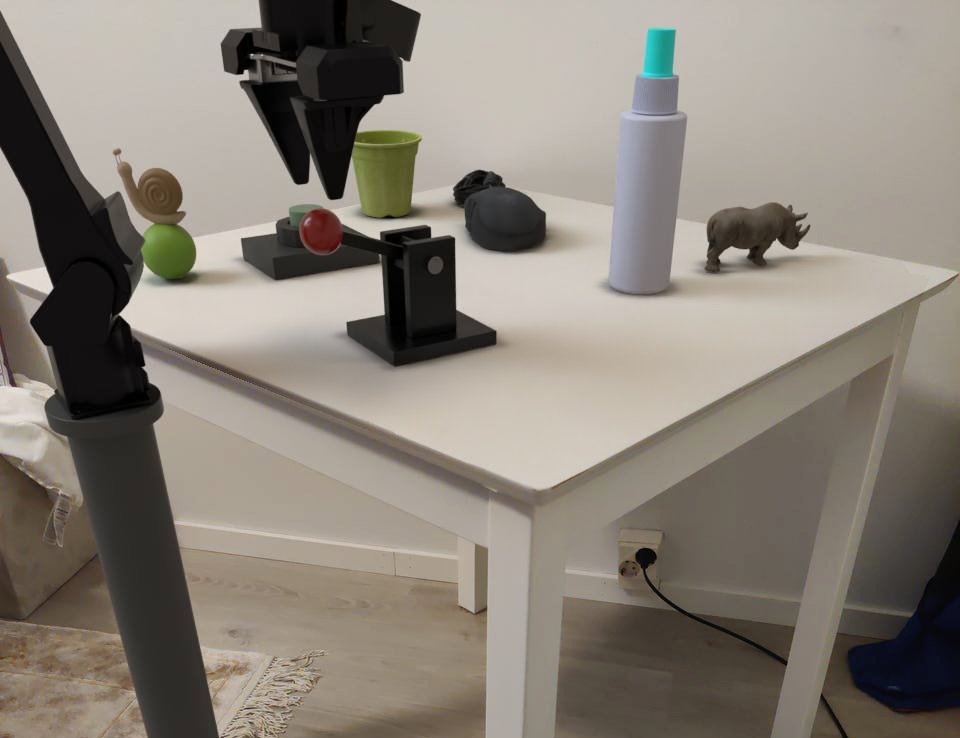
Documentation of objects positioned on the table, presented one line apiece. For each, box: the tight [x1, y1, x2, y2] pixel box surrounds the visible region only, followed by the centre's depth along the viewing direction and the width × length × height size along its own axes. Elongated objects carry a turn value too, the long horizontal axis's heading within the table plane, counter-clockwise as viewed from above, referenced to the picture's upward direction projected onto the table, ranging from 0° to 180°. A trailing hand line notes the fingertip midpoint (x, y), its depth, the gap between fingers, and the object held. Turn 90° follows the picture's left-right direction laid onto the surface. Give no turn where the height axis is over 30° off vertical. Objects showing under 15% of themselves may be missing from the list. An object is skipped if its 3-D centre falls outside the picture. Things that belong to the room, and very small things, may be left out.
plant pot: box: [351, 129, 423, 219], centre depth 121 cm, size 9×9×9 cm
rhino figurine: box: [703, 201, 811, 273], centre depth 104 cm, size 4×14×6 cm, turn 114°
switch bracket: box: [345, 224, 498, 367], centre depth 84 cm, size 10×9×9 cm
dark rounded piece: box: [452, 169, 547, 252], centre depth 120 cm, size 10×32×6 cm, turn 8°
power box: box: [240, 216, 381, 281], centre depth 105 cm, size 12×9×4 cm
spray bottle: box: [608, 27, 688, 295], centre depth 92 cm, size 6×6×22 cm
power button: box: [288, 203, 324, 227], centre depth 104 cm, size 4×4×2 cm
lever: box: [299, 207, 416, 270], centre depth 79 cm, size 12×3×3 cm, turn 122°
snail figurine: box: [112, 147, 197, 280], centre depth 98 cm, size 5×6×12 cm
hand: (318, 191), depth 75 cm, fingers open, 6 cm apart
